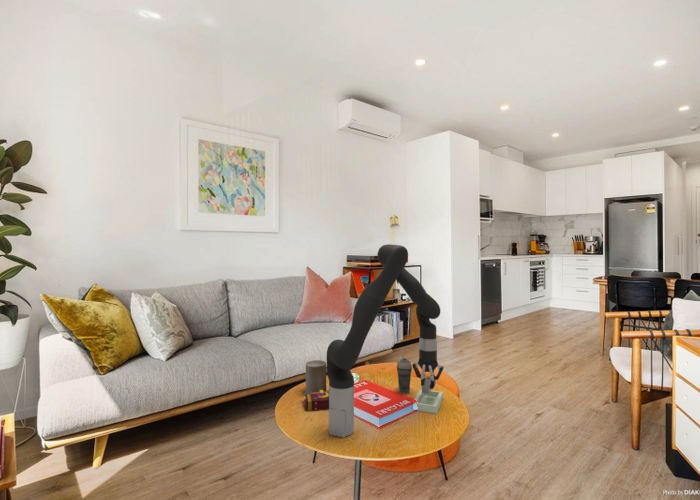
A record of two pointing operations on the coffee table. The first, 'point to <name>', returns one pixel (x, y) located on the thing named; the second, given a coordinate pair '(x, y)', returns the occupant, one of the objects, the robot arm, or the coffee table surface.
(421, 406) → the mint green tray
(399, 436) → the coffee table surface
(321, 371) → the pillar candle
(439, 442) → the coffee table surface
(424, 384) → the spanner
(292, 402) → the coffee table surface
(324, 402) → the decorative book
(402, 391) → the beverage cup
